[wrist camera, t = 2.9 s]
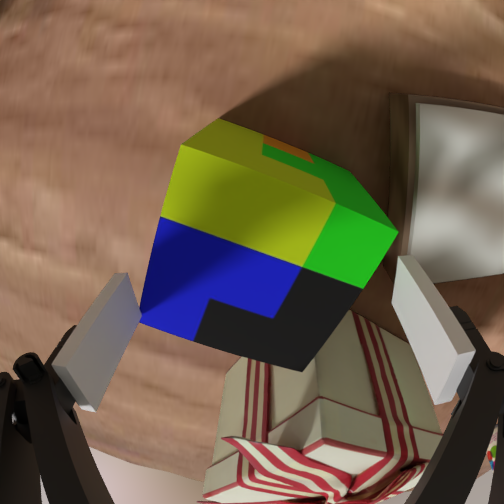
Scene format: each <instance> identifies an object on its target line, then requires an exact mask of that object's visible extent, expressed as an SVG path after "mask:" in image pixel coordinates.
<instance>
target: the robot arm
mask: <svg viewBox="0 0 504 504" xmlns="http://www.w3.org/2000/svg"><path fill="white" fill-rule="evenodd" d="M392 305H393V307H394V310H395V312H396V314H397V316H398V318H399V320H400V322H401V325H402V327H403V329H404V331H405V334H406V336H407V338H408V340H409V343H410V345H411V347H412V349H413V352H414V354H415V357H416V359H417V361H418V364H419V366H420V369H421V371H422V373H423V376H424V378H425V381H426V383H427V386H428V389H429V391H430V394H431V396H432V399H433V402H434V404H435V405H437V404H441V403H445V402H449V401H452V399H453V397H454V395H455V393H456V391H457V393H458V395H459V398H460V399H459V401H458V403H457V405H456V406H455V408H454V410H453V412H452V413H451V415H452V417H451V419H450V421H449V423H448V426H447V428H446V430H445V432H444V434H443V436H442V438H441V440H440V442H439V444H438V446H437V448H436V450H435V452H434V454H433V456H432V458H431V460H430V462H429V464H428V465H427V467H426V469H425V471H424V473H423V474H422V476H421V478H420V479H419V481H418V483H417V484H416V486H415V488H414V489H413V491H412V493H411V494H410V496H409V497H408V499H407V500H406V502H405V504H465V502H466V499H467V497H468V495H469V493H470V491H471V489H472V487H473V484H474V482H475V480H476V477H477V475H478V473H479V470H480V468H481V465H482V463H483V460H484V457H485V455H486V452H487V449H488V447H489V444H490V441H491V438H492V435H493V432H494V429H495V425H496V422H497V419H498V432H497V446H496V456H495V465H494V472H493V479H492V486H491V492H490V497H489V502H488V504H504V356H503V355H501V354H499V353H497V352H491V351H490V349H489V347H488V346H487V344H486V342H485V341H484V339H483V338H482V336H481V335H480V333H479V331H478V330H477V329H476V327H475V325H474V324H473V322H471V319H470V318H469V316H468V315H467V313H466V312H464V311H463V310H462V309H460V308H459V307H458V306H454V307H449V306H448V305H447V303H446V302H445V300H444V299H443V297H442V296H441V294H440V293H439V291H438V290H437V289H436V287H435V286H434V284H433V283H432V281H431V280H430V279H429V277H428V276H427V274H426V273H425V272H424V270H423V269H422V267H421V266H420V265H419V263H418V262H417V260H416V259H415V258H414V256H413V255H405V256H398V262H397V270H396V277H395V284H394V290H393V297H392ZM141 317H142V314H141V312H140V309H139V306H138V303H137V300H136V297H135V294H134V291H133V288H132V285H131V282H130V279H129V276H128V273H115V274H114V275H113V276H112V278H111V279H110V280H109V282H108V283H107V284H106V286H105V287H104V288H103V290H102V291H101V293H100V294H99V295H98V297H97V298H96V299H95V301H94V302H93V304H92V305H91V306H90V308H89V309H88V311H87V312H86V313H85V315H84V316H83V318H82V319H81V321H80V322H79V323H78V325H74V326H73V327H72V328H70V329H69V330H68V331H67V332H66V333H65V335H64V336H63V337H62V339H61V341H60V342H59V343H58V345H57V347H56V348H55V349H54V351H53V352H52V354H51V355H50V357H49V358H48V360H47V361H46V363H45V364H44V365H43V363H42V362H41V360H40V358H39V357H38V355H37V354H35V353H31V352H29V353H26V354H24V355H22V356H20V357H19V358H18V359H17V360H16V361H15V363H14V365H13V370H14V371H15V373H16V374H17V376H18V377H19V380H13V378H12V377H11V375H10V374H9V373H7V372H1V373H0V504H42V500H41V485H40V475H41V479H42V482H43V486H44V489H45V492H46V495H47V498H48V501H49V504H114V502H113V500H112V498H111V496H110V494H109V492H108V490H107V487H106V485H105V483H104V481H103V479H102V477H101V475H100V472H99V470H98V468H97V466H96V463H95V461H94V459H93V456H92V454H91V452H90V449H89V446H88V444H87V441H86V439H85V436H84V433H83V431H82V428H81V425H80V422H79V419H78V417H77V414H76V411H75V410H74V408H73V405H74V403H75V401H76V402H77V404H78V405H79V406H80V408H81V409H82V410H87V411H92V412H96V411H97V409H98V407H99V405H100V402H101V400H102V398H103V396H104V393H105V391H106V389H107V387H108V385H109V383H110V380H111V378H112V376H113V374H114V372H115V370H116V368H117V366H118V363H119V361H120V359H121V357H122V355H123V353H124V351H125V349H126V347H127V345H128V343H129V341H130V339H131V337H132V335H133V333H134V331H135V329H136V327H137V325H138V323H139V321H140V319H141ZM12 418H13V419H14V422H12Z"/></svg>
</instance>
